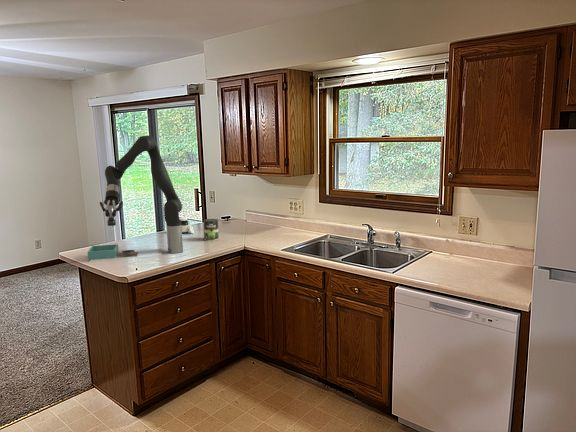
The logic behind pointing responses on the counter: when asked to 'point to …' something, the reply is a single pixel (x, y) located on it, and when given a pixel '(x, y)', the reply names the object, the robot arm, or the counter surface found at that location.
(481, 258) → the counter surface
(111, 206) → the tube
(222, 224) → the counter surface
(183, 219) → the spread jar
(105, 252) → the bin
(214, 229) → the coffee can
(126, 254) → the square framed wooden base
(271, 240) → the counter surface
